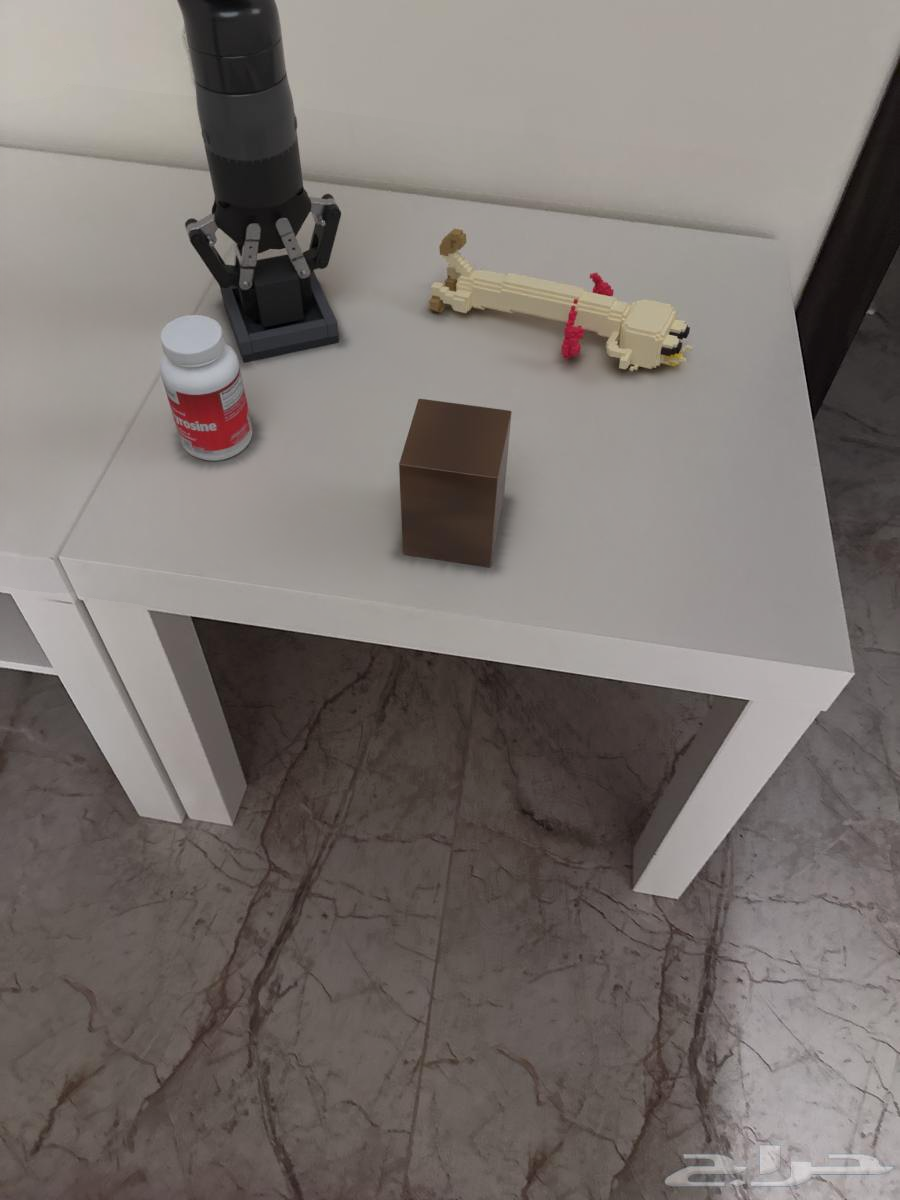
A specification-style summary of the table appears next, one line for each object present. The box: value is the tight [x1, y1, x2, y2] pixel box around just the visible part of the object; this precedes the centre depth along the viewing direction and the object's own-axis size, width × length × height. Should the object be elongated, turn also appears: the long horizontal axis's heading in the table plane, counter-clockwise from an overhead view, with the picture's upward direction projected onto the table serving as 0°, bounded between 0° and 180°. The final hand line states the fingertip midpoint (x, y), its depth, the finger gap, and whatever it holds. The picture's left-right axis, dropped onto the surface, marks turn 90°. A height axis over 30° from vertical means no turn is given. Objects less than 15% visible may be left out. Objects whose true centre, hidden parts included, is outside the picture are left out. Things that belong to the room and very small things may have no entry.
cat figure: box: [428, 228, 693, 372], centre depth 86 cm, size 10×9×25 cm
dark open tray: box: [219, 270, 340, 363], centre depth 89 cm, size 9×9×2 cm
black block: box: [253, 253, 304, 328], centre depth 87 cm, size 4×4×4 cm
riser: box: [398, 398, 513, 568], centre depth 70 cm, size 7×7×10 cm
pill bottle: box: [159, 314, 253, 462], centre depth 76 cm, size 6×6×11 cm
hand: (278, 310), depth 88 cm, fingers closed on black block, 4 cm apart
